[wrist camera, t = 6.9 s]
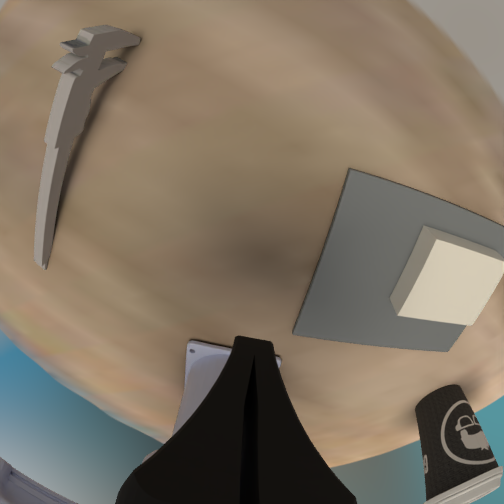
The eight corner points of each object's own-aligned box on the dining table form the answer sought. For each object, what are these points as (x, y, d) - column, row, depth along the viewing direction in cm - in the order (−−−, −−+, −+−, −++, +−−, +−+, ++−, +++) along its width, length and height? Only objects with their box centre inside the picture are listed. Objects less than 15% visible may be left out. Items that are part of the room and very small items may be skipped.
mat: (446, 349, 23) (447, 352, 23) (292, 331, 23) (292, 334, 22) (514, 231, 17) (517, 233, 17) (349, 167, 16) (350, 169, 16)
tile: (389, 297, 20) (462, 310, 20) (397, 315, 18) (471, 325, 19) (423, 224, 17) (495, 250, 18) (436, 238, 15) (508, 263, 16)
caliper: (132, 32, 13) (73, 15, 8) (145, 39, 13) (88, 20, 8) (40, 261, 22) (-1, 302, 17) (49, 268, 22) (9, 310, 17)
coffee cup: (399, 399, 27) (424, 517, 14) (473, 364, 25) (515, 474, 12) (407, 427, 31) (425, 521, 18) (469, 400, 28) (498, 489, 15)
